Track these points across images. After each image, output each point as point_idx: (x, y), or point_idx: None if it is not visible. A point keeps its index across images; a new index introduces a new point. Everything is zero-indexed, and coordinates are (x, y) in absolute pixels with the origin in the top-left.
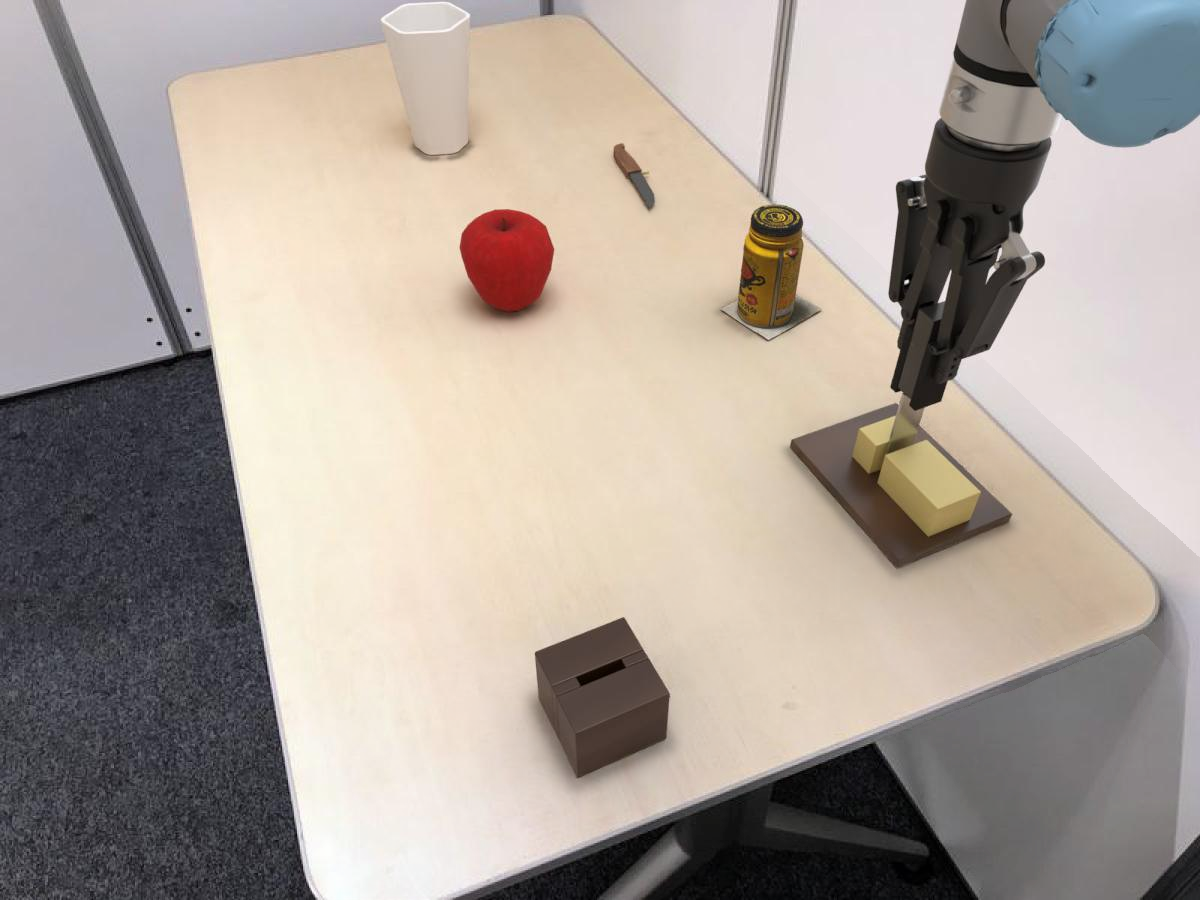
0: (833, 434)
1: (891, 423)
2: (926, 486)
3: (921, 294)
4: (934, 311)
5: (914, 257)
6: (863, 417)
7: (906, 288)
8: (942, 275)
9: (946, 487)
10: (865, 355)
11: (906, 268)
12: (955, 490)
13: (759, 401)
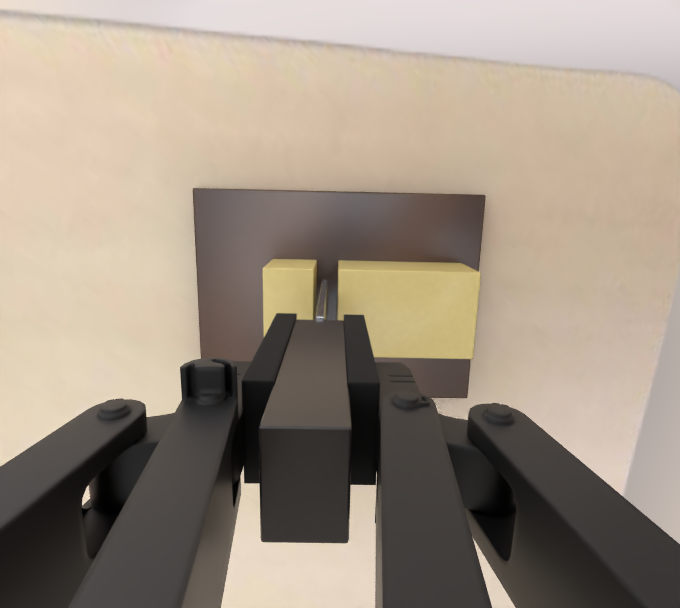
0: (218, 331)
1: (277, 298)
2: (427, 344)
3: (225, 564)
4: (298, 507)
5: (20, 604)
6: (203, 263)
7: (121, 491)
8: (208, 552)
9: (445, 317)
10: (46, 135)
11: (63, 594)
12: (456, 308)
13: (96, 370)
